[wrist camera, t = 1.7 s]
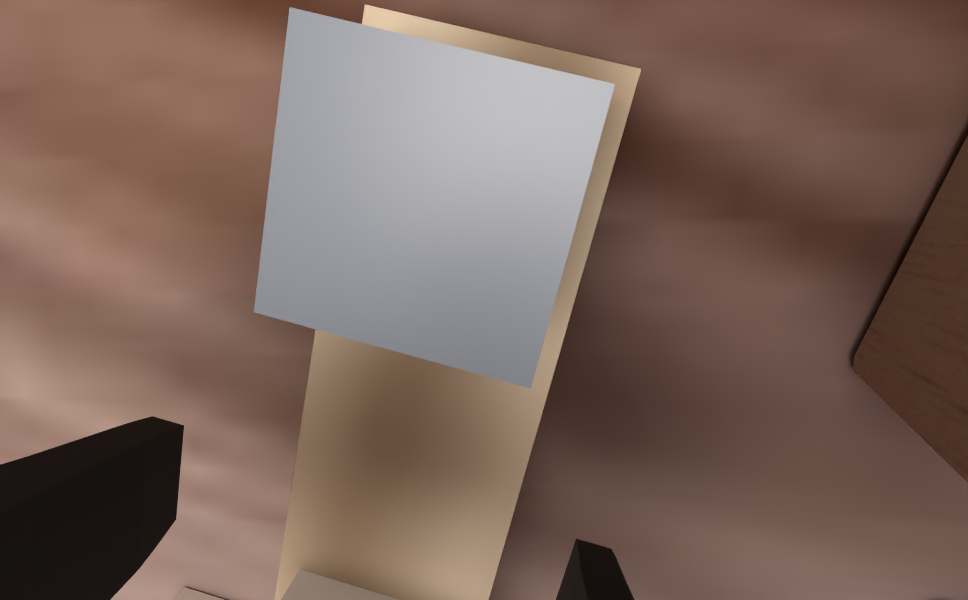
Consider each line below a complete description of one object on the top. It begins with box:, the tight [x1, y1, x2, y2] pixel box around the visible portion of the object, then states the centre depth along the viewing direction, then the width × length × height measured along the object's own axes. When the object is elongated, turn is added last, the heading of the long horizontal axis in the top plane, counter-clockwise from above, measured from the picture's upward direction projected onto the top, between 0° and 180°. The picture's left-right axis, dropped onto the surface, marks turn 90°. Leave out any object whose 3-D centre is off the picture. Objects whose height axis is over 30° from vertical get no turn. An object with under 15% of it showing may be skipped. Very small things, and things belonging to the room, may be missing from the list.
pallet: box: [274, 5, 641, 600], centre depth 16 cm, size 5×17×4 cm, turn 167°
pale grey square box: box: [254, 8, 615, 388], centre depth 10 cm, size 4×4×4 cm
